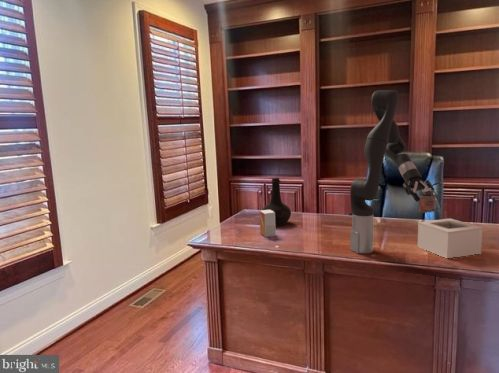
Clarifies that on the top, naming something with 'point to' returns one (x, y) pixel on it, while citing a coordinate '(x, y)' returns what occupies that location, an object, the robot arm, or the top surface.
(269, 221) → the small box
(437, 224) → the slot box
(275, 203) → the glass bottle
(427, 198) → the lighter
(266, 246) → the top surface
